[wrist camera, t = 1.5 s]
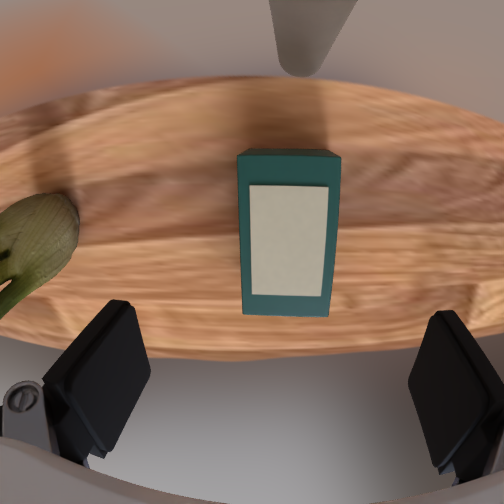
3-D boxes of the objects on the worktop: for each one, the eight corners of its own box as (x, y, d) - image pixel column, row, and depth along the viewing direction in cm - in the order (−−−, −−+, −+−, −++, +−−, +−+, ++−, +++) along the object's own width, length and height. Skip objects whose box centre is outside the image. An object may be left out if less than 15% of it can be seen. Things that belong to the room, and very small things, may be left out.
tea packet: (248, 148, 18) (236, 155, 14) (329, 149, 18) (342, 157, 14) (251, 278, 22) (242, 315, 18) (322, 280, 21) (328, 318, 17)
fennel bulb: (93, 252, 23) (-7, 338, 12) (53, 252, 23) (-40, 324, 12) (79, 183, 20) (-44, 240, 9) (39, 189, 21) (-71, 242, 10)
